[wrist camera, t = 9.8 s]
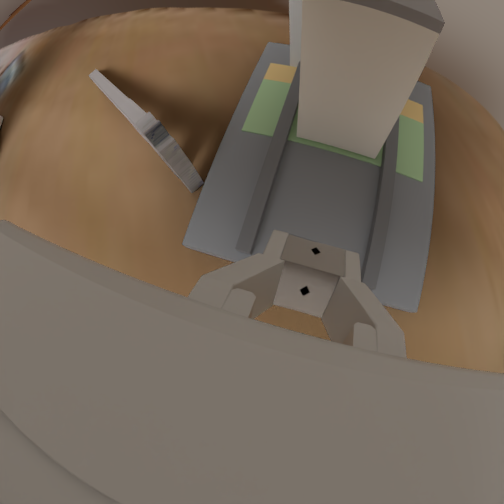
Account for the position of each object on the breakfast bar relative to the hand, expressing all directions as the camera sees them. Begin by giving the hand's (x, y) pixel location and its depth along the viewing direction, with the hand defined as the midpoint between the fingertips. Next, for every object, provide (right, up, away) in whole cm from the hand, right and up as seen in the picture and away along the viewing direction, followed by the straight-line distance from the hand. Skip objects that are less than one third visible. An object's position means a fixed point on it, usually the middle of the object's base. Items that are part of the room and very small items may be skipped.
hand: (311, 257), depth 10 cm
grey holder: (+3, +7, +7) cm, 11 cm away
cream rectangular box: (+4, +9, +6) cm, 12 cm away
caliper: (-12, +11, +10) cm, 20 cm away
